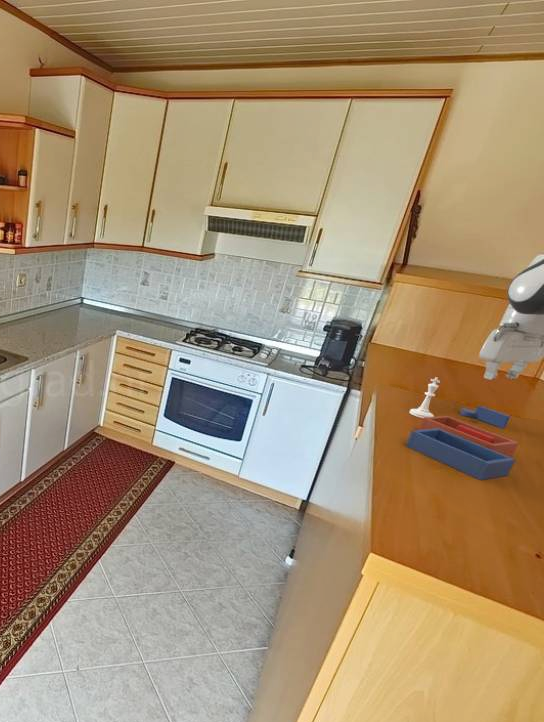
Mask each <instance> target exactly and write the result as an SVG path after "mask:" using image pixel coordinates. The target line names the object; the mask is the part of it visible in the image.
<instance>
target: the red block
mask: <svg viewBox="0 0 544 722" xmlns="http://www.w3.org/2000/svg"><path fill="white" fill-rule="evenodd" d="M456 430H459V431H461V432H464V433H466V434H469V435H471V436H474V437H477V438H479V439H482V440H484V441H487V442H489V443H492V444H493V442H494V439H495V438H493V437H490V436H488V435H485V434H483V433H480V432H477V431H475V430H472V429H470V428H467V427H464V426H462V425H458V427H457V429H456Z"/></svg>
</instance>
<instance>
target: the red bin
mask: <svg viewBox="0 0 544 722" xmlns="http://www.w3.org/2000/svg"><path fill="white" fill-rule="evenodd" d="M458 425H462V426H464V427H467V428H470V429H472V430H475V431H477V432H480V433H483V434H485V435H488V436H490V437H493V438H495V439H494V442H493V444H492V443H489V442H487V441H484V440H482V439H479V438H477V437H474V436H471V435H469V434H466V433H464V432H461V431H459V430H456V429H457V427H458ZM435 428H438V429H441V430H443V431H446V432H448V433H451V434H453V435H456V436H458V437H461V438H463V439H466V440H468V441H471V442H473V443H476V444H478V445H481V446H483V447H486V448H488V449H491V450H493V451H495V452H498V453H500V454H503V455H505V456H508V457H510V458H513V456H514V453H515V452H516V449H517V448H518V446H519V442H518V441H516V440H513V439H510V438H507V437H506V436H502V435H500V434H497V433H494V432H491V431H489V430H486V429H484V428H481V427H478V426H475V425H473V424H470V423H468V422H465V421H462V420H460V419H457V418H454V417H452V416H449V415H438V416H436V415H435V416H434V417H424V418H421V422H420V424H419V426H418V429H417V430H425V429H435Z"/></svg>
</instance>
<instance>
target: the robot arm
mask: <svg viewBox="0 0 544 722" xmlns="http://www.w3.org/2000/svg"><path fill="white" fill-rule="evenodd" d="M506 296H507V300H508V302H509V304H508V306H507V308H506V310H505V312H504V314H503V316H502V318H501V320H500V323H499V326H498V327H497V328H494V329H493V330H492V331H491V332H490V333H489V335H488V336H487V338H486V340H485V341H484V343H483V345H482V347H481V349H480V351H479V353H478V358H479V359H480V360H483V361H485V362H486V363H485V372H484V375H483V378H484V379H487V380H489V381H492V380H496V379H497V377H498V375H499V373H498V370H499V367H501V365H502V364H504V363H505V364H506V363H513V365H512V366H511V367H510V369H508V370H507V372H506V374H505V378H508V379H509V380H516V379H518V378H519V376H520V374H521V373H522V372H523V371H524V369H525V368H527V365H529V363H539V362H540V361H541V360H542V359H543V358H544V253H541V254H540V253H539V254H538V255H536V256H535V257H534V258H533V259H532V260H531V262H530V263H529V264H528V266H527V267H526V268H525V269H523V270H522V271H520V272H519V273H518V274H517V275H516V276H515V277H514V278H513V279H512V280H511V282H510V283H509V285H508V287H507V289H506Z"/></svg>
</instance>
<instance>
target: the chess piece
mask: <svg viewBox="0 0 544 722" xmlns="http://www.w3.org/2000/svg"><path fill="white" fill-rule="evenodd" d="M430 381H431V382H432V383H428V384H427V391H425V392H424V395H426V396H425V398H424V399H423V402H422V403H421V405H420V406H419V407H417V408H410V410H409V411H408V412H409V414H410V415H412V416H415V417H417V418H420V419H423V418H424V417H435V415H434V414H433V413H431V412H430V410H429V409H430V408H429V407H430V403H431V399H432V398H433V397H436V394H435V391H437V390H438V389H439V388H440V387H439V385H438V384H437V383H439V384H440V383H441V380H439V377H437V376H435V377H434V378H430Z"/></svg>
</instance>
